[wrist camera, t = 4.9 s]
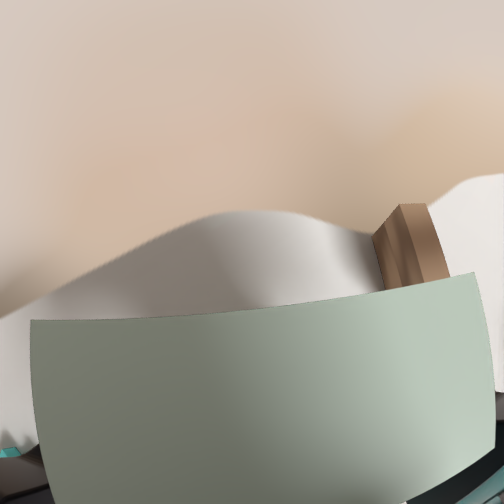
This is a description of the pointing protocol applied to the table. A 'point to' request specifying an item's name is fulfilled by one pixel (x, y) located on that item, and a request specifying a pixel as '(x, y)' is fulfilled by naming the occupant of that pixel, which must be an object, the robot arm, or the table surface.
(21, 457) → the robot arm
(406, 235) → the brown wooden stepped piece
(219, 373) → the sage slab
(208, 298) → the table surface
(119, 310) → the table surface
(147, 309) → the table surface
